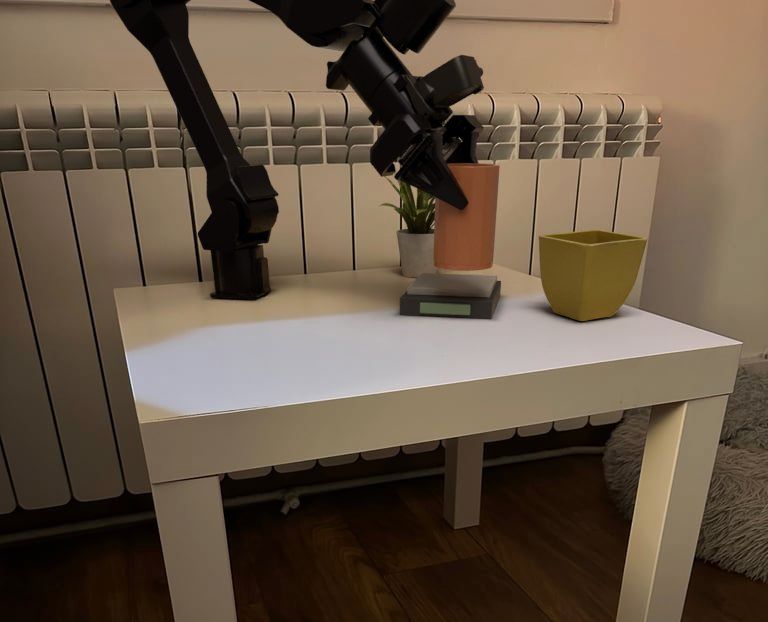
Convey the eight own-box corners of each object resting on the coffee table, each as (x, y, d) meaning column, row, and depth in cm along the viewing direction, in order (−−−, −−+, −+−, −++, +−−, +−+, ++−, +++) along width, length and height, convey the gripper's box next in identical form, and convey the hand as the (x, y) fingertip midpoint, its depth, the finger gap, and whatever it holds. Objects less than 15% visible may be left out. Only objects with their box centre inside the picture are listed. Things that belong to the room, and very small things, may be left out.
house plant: (475, 284, 104) (482, 157, 96) (378, 285, 103) (377, 158, 96) (464, 267, 116) (469, 153, 108) (377, 268, 116) (376, 154, 108)
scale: (399, 315, 87) (399, 291, 86) (418, 293, 99) (419, 271, 97) (490, 319, 85) (492, 295, 84) (500, 296, 97) (501, 274, 95)
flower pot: (578, 328, 81) (588, 243, 77) (530, 312, 88) (536, 234, 84) (637, 319, 85) (649, 237, 80) (586, 304, 92) (595, 228, 87)
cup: (444, 272, 80) (448, 166, 75) (425, 262, 86) (428, 163, 81) (502, 269, 82) (509, 165, 77) (479, 259, 87) (485, 162, 82)
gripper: (397, 14, 67) (502, 149, 68) (471, 33, 81) (557, 144, 82) (327, 112, 74) (423, 234, 75) (407, 113, 88) (487, 215, 89)
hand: (477, 204), depth 80 cm, fingers closed on cup, 7 cm apart
